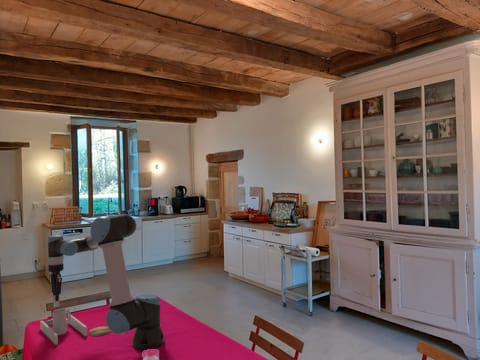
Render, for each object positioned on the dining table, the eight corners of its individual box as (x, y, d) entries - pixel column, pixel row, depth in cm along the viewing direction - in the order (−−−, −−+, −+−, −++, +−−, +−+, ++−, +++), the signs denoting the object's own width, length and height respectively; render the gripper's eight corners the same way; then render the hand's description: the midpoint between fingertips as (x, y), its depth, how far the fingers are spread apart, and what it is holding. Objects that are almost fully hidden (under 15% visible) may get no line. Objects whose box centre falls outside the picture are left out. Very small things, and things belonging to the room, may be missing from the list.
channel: (87, 335, 194) (86, 326, 194) (55, 344, 183) (55, 335, 183) (70, 321, 213) (69, 313, 213) (40, 329, 203) (40, 321, 203)
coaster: (114, 331, 198) (114, 330, 198) (93, 338, 191) (93, 336, 191) (106, 325, 206) (106, 324, 206) (85, 331, 199) (85, 330, 199)
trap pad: (62, 323, 211) (62, 321, 211) (47, 326, 206) (47, 325, 206) (58, 319, 217) (58, 318, 217) (43, 322, 212) (43, 321, 212)
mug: (58, 336, 193) (58, 313, 193) (49, 334, 196) (49, 311, 196) (75, 329, 202) (74, 307, 202) (66, 327, 205) (66, 305, 205)
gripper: (67, 264, 204) (67, 307, 204) (59, 260, 213) (59, 301, 213) (52, 266, 198) (52, 311, 199) (45, 262, 208) (45, 304, 208)
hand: (56, 306), depth 206 cm, fingers closed
